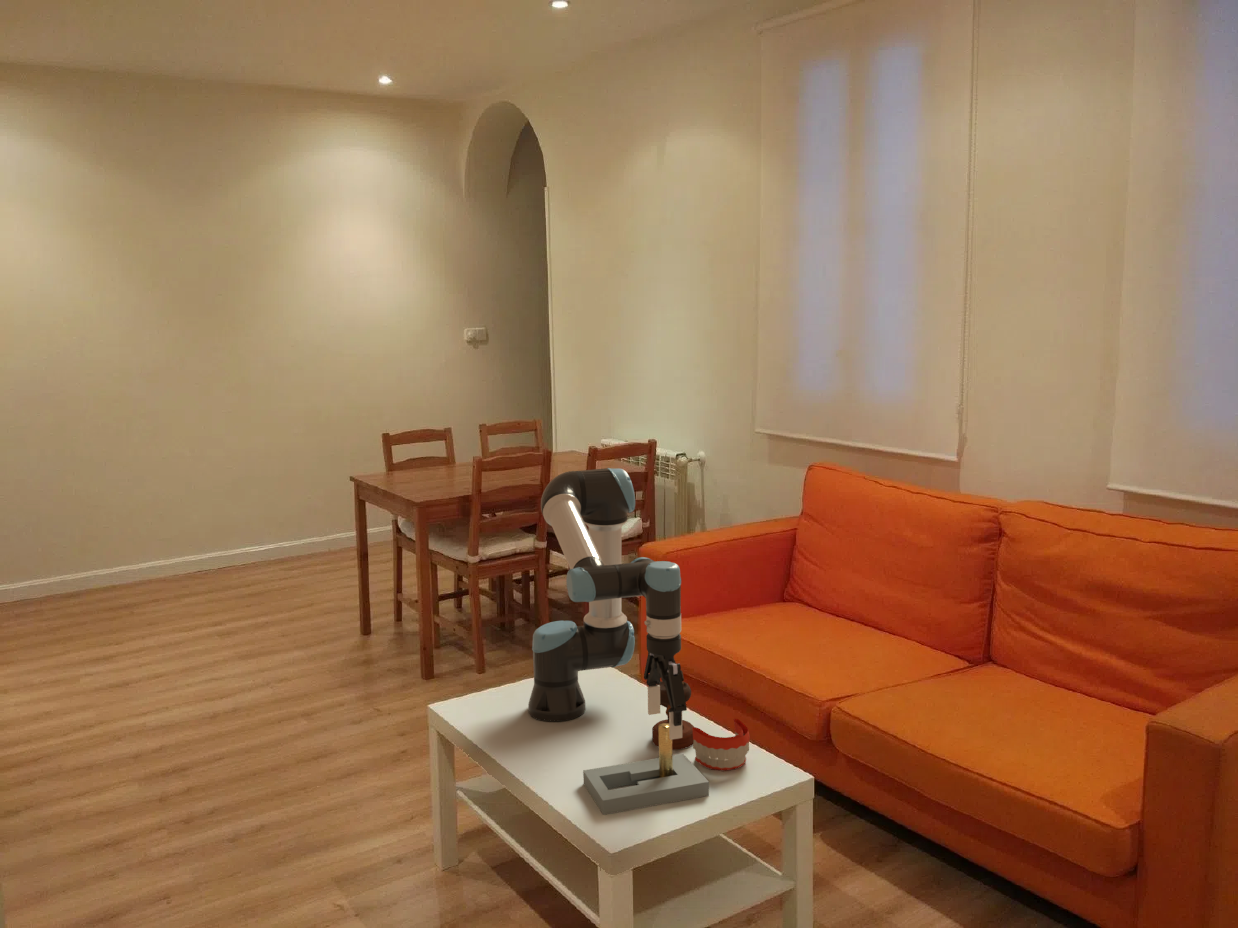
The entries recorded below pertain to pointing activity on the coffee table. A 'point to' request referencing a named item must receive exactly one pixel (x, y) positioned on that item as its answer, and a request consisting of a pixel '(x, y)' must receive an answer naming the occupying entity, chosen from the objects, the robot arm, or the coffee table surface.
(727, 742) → the toy
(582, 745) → the coffee table surface
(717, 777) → the coffee table surface
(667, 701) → the music box
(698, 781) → the keyhole board
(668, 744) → the brass peg
